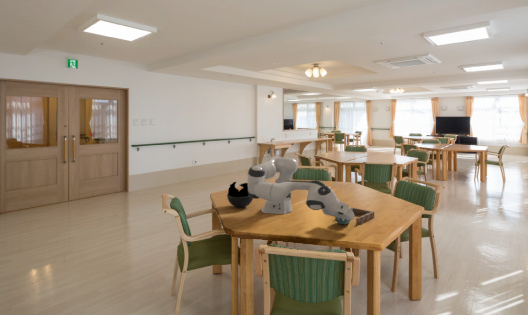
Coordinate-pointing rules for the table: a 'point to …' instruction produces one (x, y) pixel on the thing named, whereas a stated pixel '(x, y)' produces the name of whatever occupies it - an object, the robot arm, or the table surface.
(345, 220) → the flower pot
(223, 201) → the table surface
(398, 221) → the table surface
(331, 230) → the table surface
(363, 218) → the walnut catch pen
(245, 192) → the bowl of black rocks
